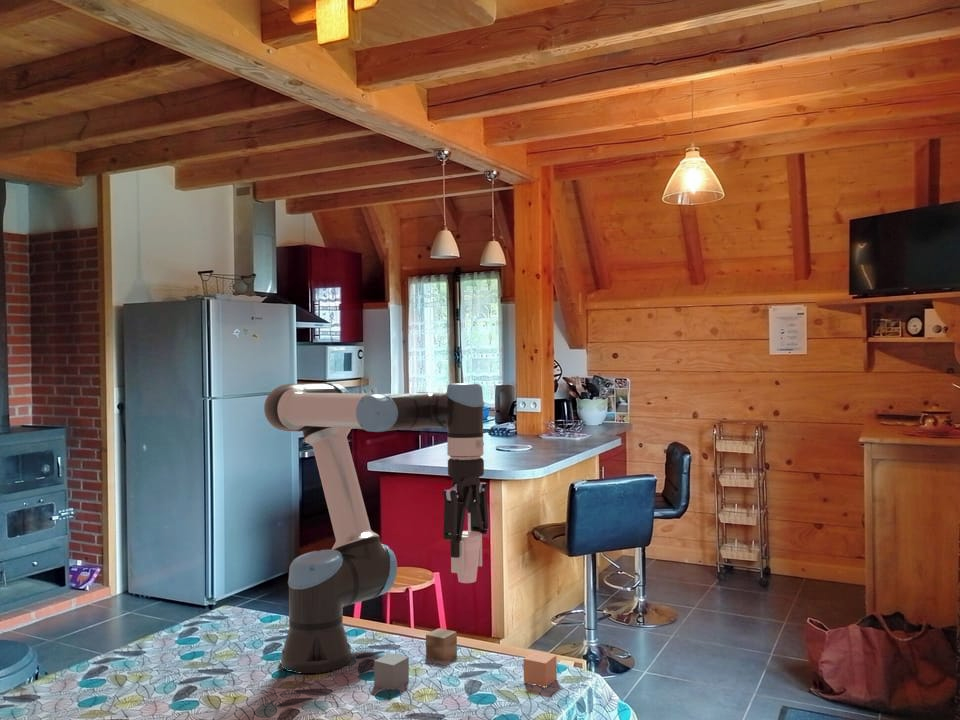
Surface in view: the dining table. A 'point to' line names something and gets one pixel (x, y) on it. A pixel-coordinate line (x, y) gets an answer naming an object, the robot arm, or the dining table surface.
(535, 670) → the terracotta block
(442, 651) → the walnut block
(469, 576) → the smoothie
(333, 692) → the dining table surface
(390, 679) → the grey cube
